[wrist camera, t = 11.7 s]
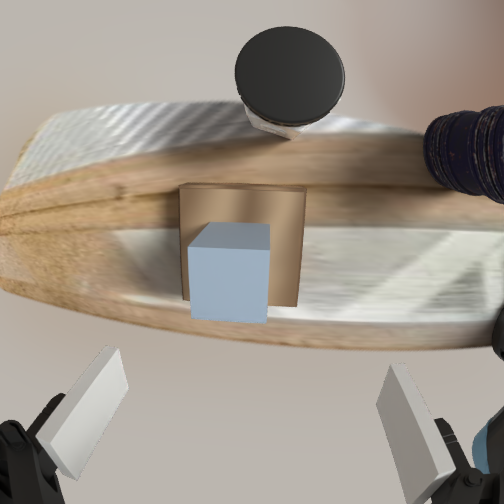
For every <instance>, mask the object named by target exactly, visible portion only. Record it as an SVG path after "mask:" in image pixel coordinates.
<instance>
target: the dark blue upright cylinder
mask: <svg viewBox="0 0 504 504" xmlns="http://www.w3.org/2000/svg"><path fill="white" fill-rule="evenodd" d="M423 154H424V159H425V163H426V166H427V168H428V170H429V172H430V174H431V175H432V177H433V178H434V179H435V180H436V181H437V182H438V183H439V184H440V185H442V186H444V187H446V188H449V189H453V190H455V191H457V192H461V193H465V194H468V195H472V196H481V195H484V196H487V197H488V198H490V199H491V200H493V201H495V202H497V203H500V204H504V105H501V106H492V107H488V108H486V109H484V110H482V111H481V112H475V111H465V110H464V111H460V112H455V113H451V114H449V115H444V116H440V117H438V118H436V119H435V120H433V121H432V122H431V124H430V125H429V126H428V128H427V130H426V133H425V136H424V140H423Z"/></svg>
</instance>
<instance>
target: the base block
mask: <svg viewBox="0 0 504 504" xmlns="http://www.w3.org/2000/svg"><path fill="white" fill-rule="evenodd" d="M306 191H307V189H306V188H304V187H303V186H289V185H269V184H242V183H185V184H181V185H179V231H180V258H181V278H182V294H183V300H186V301H190V288H189V269H188V246H189V245H190V244H191V243H192V241H193V240H194V239H195V238H196V237H197V236H198V235H199V234H200V233H201V231H202V230H203V229H204V228H205V227H206V226H207V225H208V224H209V223H210V222H236V223H263V224H270V264H269V284H268V303H267V306H285V307H297V301H298V291H299V281H300V270H301V259H302V247H303V235H304V221H305V207H306Z"/></svg>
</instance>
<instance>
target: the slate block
mask: <svg viewBox="0 0 504 504" xmlns="http://www.w3.org/2000/svg"><path fill="white" fill-rule="evenodd" d="M269 264H270V224H263V223H236V222H210V223H209V224H208V225H207V226H206V227H205V228H204V229H203V230H202V231H201V233H200V234H199V235H198V236H197V237H196V238H195V239H194V240H193V241H192V243H191V244H190V245H189V246H188V269H189V288H190V304H191V319H202V320H216V321H230V322H248V323H266V321H267V303H268V284H269Z"/></svg>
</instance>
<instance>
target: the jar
mask: <svg viewBox="0 0 504 504" xmlns="http://www.w3.org/2000/svg"><path fill="white" fill-rule="evenodd" d="M235 81H236V85H237V90H238V93H239V95H241V99H242V101H243V102H244V106H245V111H246V114H247V116H248V118H249V120H250V122H251V124H252V126H253V127H254V128H257V129H261V130H264V131H267V132H270V133H273V134H276V135H279V136H282V137H285V138H288V139H291V140H292V139H294V138H295V137H296V136H298V135H299V134H300V133H301V132H302V131H304V130H305V129H306V128H307V127H309V126H310V125H311V124H312V123H314V122H317V121H319V120H320V119H322V118H323V117H325V116H326V115H327V114H328V113H330V110H331V109H332V108H333V107H334V106H335V105H336V104H337V103H338V102H339V101H340V100H341V95H342V93H343V89H344V85H345V72H344V67H343V64H342V61H341V59H340V57H339V55H338V53H337V52H336V50H335V49H334V48H333V47H332V45H330V44H329V43H328V42H327V41H326V40H325V39H324V38H322V37H321V36H319V35H318V34H315V33H313V32H312V31H309V30H306V29H303V28H298V27H289V26H284V27H275V28H271V29H268V30H265V31H263V32H261V33H259V34H257V35H255V36H254V37H253V38H251V39H250V40H249V41H248V42H247V43H246V44H245V45H244V47H243V48H242V50H241V51H240V53H239V55H238V57H237V61H236V65H235Z"/></svg>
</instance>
